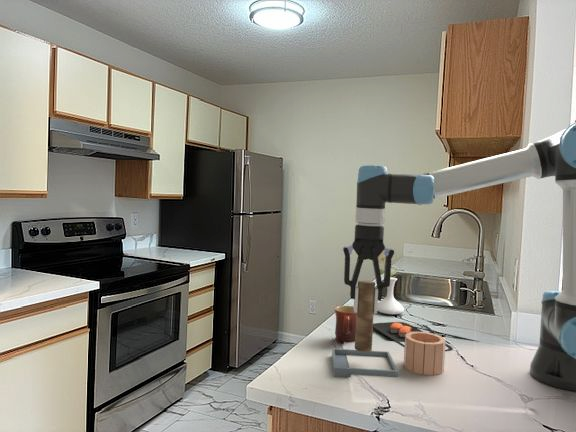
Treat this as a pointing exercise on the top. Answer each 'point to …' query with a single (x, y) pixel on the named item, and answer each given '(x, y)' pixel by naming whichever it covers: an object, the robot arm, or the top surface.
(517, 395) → the top surface
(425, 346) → the cup
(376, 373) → the tray
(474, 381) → the top surface
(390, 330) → the sushi plate
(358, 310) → the peg
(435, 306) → the top surface
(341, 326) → the mug
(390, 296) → the flower in vase
